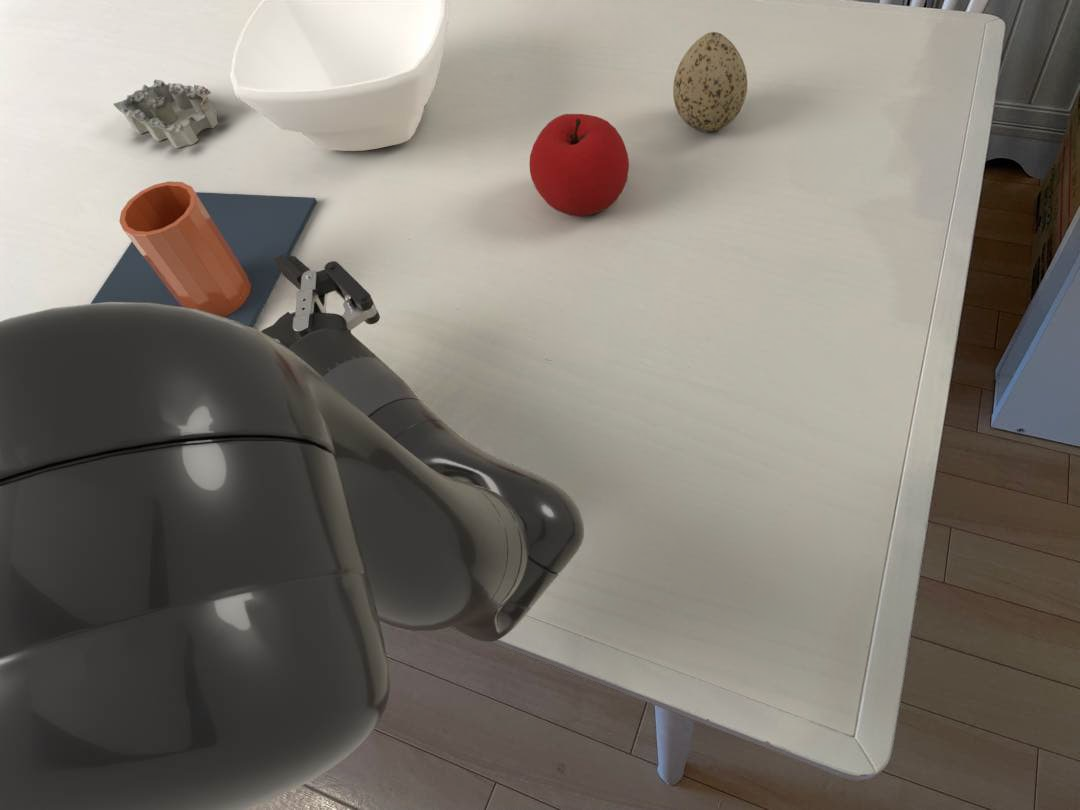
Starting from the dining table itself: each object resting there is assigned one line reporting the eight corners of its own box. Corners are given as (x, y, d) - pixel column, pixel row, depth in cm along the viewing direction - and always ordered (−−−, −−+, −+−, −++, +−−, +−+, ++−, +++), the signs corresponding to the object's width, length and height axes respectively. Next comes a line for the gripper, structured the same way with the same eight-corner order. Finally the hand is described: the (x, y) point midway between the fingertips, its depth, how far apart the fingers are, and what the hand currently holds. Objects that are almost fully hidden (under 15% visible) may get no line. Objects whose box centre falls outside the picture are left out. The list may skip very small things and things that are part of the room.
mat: (240, 352, 72) (237, 348, 72) (74, 336, 76) (70, 332, 76) (317, 201, 83) (315, 197, 82) (168, 194, 87) (165, 190, 86)
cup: (233, 323, 74) (173, 237, 64) (172, 318, 75) (105, 233, 66) (261, 271, 77) (208, 183, 68) (202, 267, 78) (142, 179, 69)
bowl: (461, 181, 82) (434, 81, 72) (258, 197, 84) (206, 103, 75) (477, 56, 94) (457, -44, 84) (300, 74, 97) (260, -21, 87)
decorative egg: (742, 101, 83) (750, 9, 75) (745, 146, 79) (754, 54, 71) (672, 105, 84) (674, 15, 76) (672, 149, 80) (673, 59, 72)
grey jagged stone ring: (229, 119, 93) (213, 88, 90) (181, 156, 90) (162, 126, 87) (173, 94, 98) (156, 64, 94) (125, 130, 95) (106, 100, 91)
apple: (634, 170, 79) (631, 81, 71) (624, 234, 74) (619, 146, 66) (544, 169, 81) (531, 82, 73) (529, 231, 76) (512, 146, 68)
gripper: (413, 311, 55) (291, 210, 63) (244, 440, 51) (135, 314, 59) (438, 373, 62) (324, 275, 69) (289, 493, 57) (185, 373, 65)
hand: (237, 293), depth 64 cm, fingers open, 8 cm apart
